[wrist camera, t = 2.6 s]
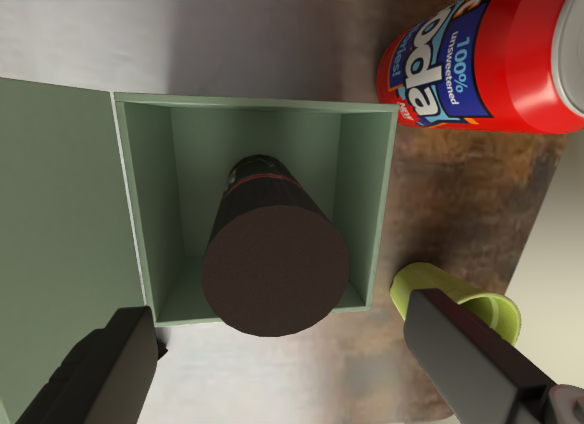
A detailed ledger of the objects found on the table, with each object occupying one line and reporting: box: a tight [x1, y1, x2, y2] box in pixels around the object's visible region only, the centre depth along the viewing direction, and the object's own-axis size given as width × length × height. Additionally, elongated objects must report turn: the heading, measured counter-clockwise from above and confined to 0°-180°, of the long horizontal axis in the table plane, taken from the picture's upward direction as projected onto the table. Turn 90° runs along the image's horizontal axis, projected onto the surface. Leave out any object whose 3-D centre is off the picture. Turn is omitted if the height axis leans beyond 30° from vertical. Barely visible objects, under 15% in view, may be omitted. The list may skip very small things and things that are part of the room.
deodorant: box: [201, 154, 350, 337], centre depth 18 cm, size 6×6×15 cm
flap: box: [0, 77, 144, 424], centre depth 11 cm, size 7×14×1 cm
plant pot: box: [390, 262, 521, 347], centre depth 28 cm, size 9×9×9 cm
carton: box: [114, 92, 399, 327], centre depth 21 cm, size 15×14×9 cm
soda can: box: [376, 0, 584, 134], centre depth 18 cm, size 8×8×15 cm
